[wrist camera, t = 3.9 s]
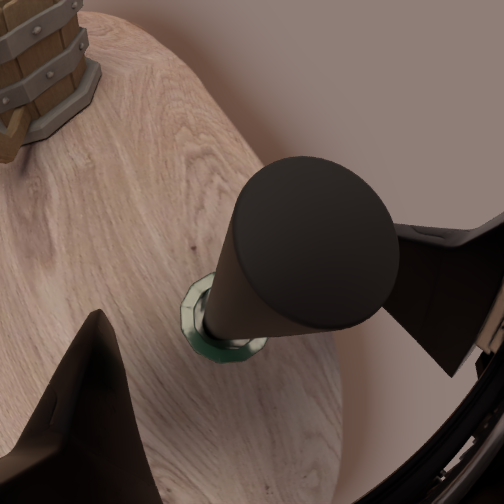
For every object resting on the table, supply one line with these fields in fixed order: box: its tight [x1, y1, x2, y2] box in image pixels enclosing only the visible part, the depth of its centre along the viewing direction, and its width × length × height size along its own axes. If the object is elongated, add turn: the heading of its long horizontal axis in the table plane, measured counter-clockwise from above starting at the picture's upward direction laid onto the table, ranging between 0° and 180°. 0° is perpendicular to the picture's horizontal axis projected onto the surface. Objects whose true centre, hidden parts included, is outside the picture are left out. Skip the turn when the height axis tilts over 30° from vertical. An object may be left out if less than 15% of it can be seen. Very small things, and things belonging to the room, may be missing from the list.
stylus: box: [202, 156, 400, 340], centre depth 9 cm, size 2×2×14 cm
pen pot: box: [180, 272, 268, 363], centre depth 14 cm, size 4×4×5 cm
